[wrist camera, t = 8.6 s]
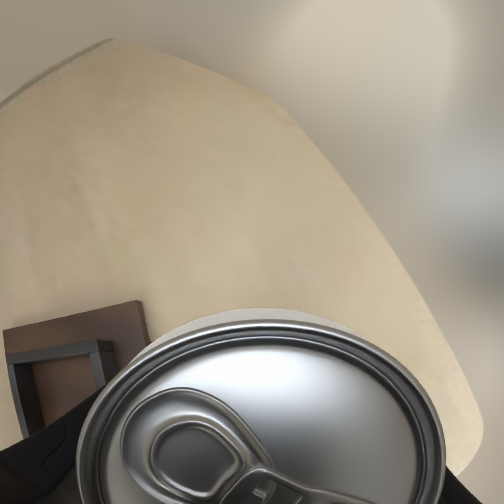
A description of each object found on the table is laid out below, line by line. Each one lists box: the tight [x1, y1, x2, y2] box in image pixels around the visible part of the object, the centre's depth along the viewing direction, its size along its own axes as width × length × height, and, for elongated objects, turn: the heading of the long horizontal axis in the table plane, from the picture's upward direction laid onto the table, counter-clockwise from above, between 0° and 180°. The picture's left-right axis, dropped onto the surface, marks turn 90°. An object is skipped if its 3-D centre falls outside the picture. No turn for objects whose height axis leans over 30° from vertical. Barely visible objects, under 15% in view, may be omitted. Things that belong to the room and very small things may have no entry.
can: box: [76, 308, 446, 504], centre depth 9 cm, size 6×6×12 cm
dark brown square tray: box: [3, 300, 150, 439], centre depth 17 cm, size 14×14×4 cm
